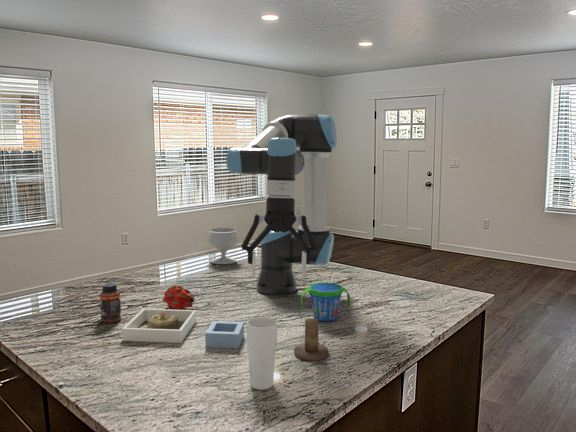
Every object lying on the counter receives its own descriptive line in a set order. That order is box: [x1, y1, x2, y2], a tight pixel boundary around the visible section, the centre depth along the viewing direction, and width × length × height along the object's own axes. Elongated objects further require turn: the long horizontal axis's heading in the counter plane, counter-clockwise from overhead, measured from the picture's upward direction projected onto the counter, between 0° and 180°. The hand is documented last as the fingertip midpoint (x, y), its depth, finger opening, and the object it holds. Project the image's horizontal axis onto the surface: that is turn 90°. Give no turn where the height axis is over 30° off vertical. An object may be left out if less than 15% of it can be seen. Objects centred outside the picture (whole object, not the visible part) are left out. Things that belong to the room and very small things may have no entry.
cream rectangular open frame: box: [121, 308, 197, 344], centre depth 143 cm, size 17×17×4 cm
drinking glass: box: [246, 316, 278, 391], centre depth 110 cm, size 7×7×15 cm
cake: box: [146, 312, 181, 330], centre depth 144 cm, size 10×10×5 cm
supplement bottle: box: [99, 282, 122, 324], centre depth 150 cm, size 6×6×11 cm
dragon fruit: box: [161, 284, 196, 310], centre depth 161 cm, size 8×8×12 cm
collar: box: [204, 320, 245, 349], centre depth 136 cm, size 9×9×4 cm
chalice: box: [207, 227, 240, 265], centre depth 225 cm, size 14×14×15 cm
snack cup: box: [300, 282, 351, 322], centre depth 154 cm, size 16×10×10 cm
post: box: [293, 317, 329, 362], centre depth 128 cm, size 9×9×9 cm
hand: (278, 276), depth 131 cm, fingers open, 13 cm apart
